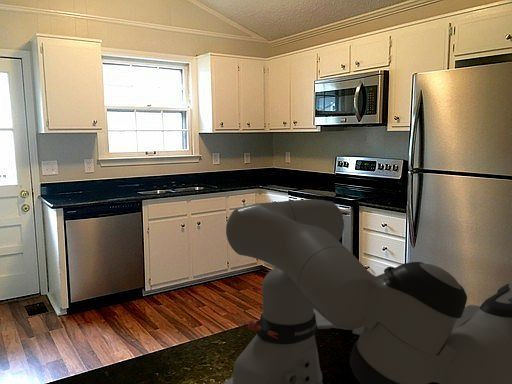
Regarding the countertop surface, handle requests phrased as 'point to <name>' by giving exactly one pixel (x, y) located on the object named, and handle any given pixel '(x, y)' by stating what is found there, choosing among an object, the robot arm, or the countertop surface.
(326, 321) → the external hard drive
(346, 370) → the countertop surface
